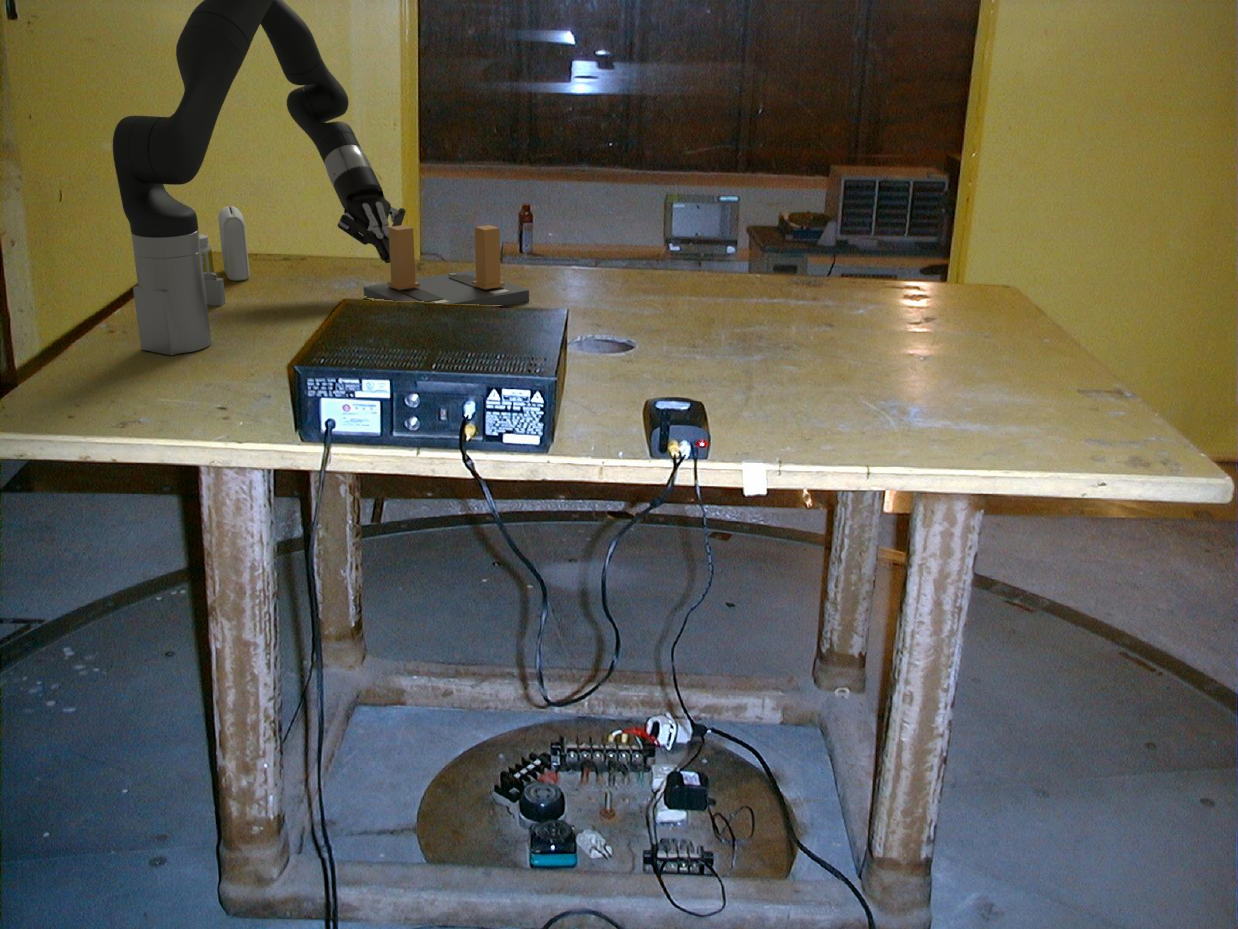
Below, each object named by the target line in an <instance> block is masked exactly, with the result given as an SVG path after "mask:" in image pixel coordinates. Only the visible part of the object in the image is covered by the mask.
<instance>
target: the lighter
mask: <svg viewBox="0 0 1238 929" xmlns="http://www.w3.org/2000/svg"><path fill="white" fill-rule="evenodd" d="M203 274H204V283H205V292H206V301H207V306H216V307H217V306H220V307H221V306H224V305H226V292H225V284H224V278H223V277H218V275H217V274H216V273H215V272H214V273H210V272H204V273H203Z"/></svg>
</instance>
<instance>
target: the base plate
mask: <svg viewBox="0 0 1238 929" xmlns="http://www.w3.org/2000/svg"><path fill="white" fill-rule="evenodd" d="M415 280H416V282H418V283H420V287H415V288H409V289H402V290H398V289H396V288H393V287H391V286H388V285H387V283H380V284H374V285H368V286H367V285H366V286H363V288H362V289H363V297H364V296H367V297H366V298H374V299H384V300H393V301H424V302H435V303H449V304H476V305H477V304H479V305H507V306H512V305H517V304H523V303H528V302H530V289H527V288H524V287H521V286H519V285H516V284H513V283H510V282H508V281H506V280H502V279H500V281H501V282H504V283H505V286H503V287H497V288H491V289H482V288H480V287H477V286H474V285H472V281H476V270H474V269H469V270H463V271H455V272H449V273H443V274H436V275H431V276H424V277H418V278H415Z"/></svg>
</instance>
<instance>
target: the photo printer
mask: <svg viewBox="0 0 1238 929" xmlns="http://www.w3.org/2000/svg"><path fill="white" fill-rule="evenodd" d="M217 220H218V227H219V228H218V229H219V236H220V238H219V239H220V246H221V247H220V249H221V255H222V256H221V257H222V263H223V264H222V265H223V270H224V273H225V276H226V277H227V279H228V280H231V281H245V280H247V279H249V278H250V272H251V271H250V263H249V257H248V255H249V254H248V245H247V234H246V233H247V232H246V223H245V222H246V221H245V218H244V216H243V213H242V212H241V211H240V210H239V208H237V207H235V206H233V205H231V206H228V205H226V206H224V207H223V208H222V209H221V210H220V211H219V213H218V219H217Z"/></svg>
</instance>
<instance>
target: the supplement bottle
mask: <svg viewBox="0 0 1238 929" xmlns="http://www.w3.org/2000/svg"><path fill="white" fill-rule="evenodd" d="M199 239H200V247H201V257H202V266H203V273H204V272H210V273H215V268H214V261H213V259H214V258H213V253H212V252H213V250H212V247H211V246H210V245H209V236H208V235H206V234H200V233H199Z"/></svg>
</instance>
